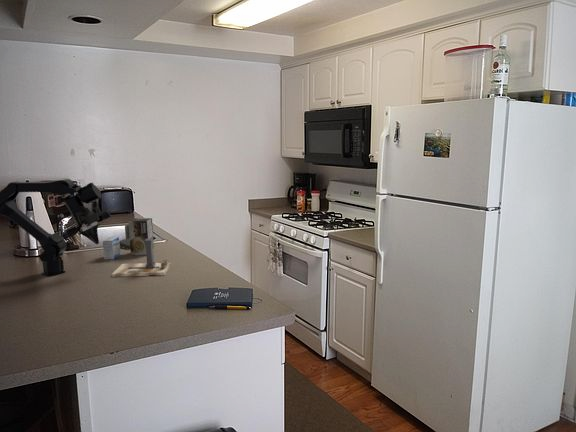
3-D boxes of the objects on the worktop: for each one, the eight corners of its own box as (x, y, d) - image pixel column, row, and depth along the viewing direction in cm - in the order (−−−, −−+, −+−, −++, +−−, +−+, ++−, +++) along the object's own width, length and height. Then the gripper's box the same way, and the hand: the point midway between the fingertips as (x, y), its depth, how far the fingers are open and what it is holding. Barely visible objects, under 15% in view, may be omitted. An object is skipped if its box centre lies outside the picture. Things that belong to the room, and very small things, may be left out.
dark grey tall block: (145, 267, 182) (143, 240, 180) (148, 265, 186) (146, 238, 184) (153, 267, 183) (151, 240, 181) (155, 264, 187) (153, 238, 185)
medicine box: (113, 259, 202) (112, 240, 200) (103, 259, 202) (102, 240, 201) (120, 255, 210) (119, 236, 208) (111, 255, 210) (109, 236, 208)
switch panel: (112, 276, 177) (111, 267, 176) (122, 266, 191) (121, 258, 190) (164, 275, 178) (164, 266, 178) (171, 265, 192) (170, 257, 191)
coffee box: (154, 251, 216) (152, 218, 213) (149, 255, 209) (147, 220, 207) (136, 251, 217) (133, 217, 214) (130, 254, 210) (127, 220, 207)
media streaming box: (115, 246, 229) (114, 240, 229) (142, 241, 240) (141, 235, 239) (129, 250, 219) (128, 244, 219) (156, 245, 230) (156, 239, 229)
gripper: (63, 214, 167) (85, 252, 169) (106, 195, 180) (126, 229, 183) (52, 220, 174) (73, 256, 177) (94, 201, 187) (113, 234, 190)
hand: (97, 243), depth 181 cm, fingers closed
